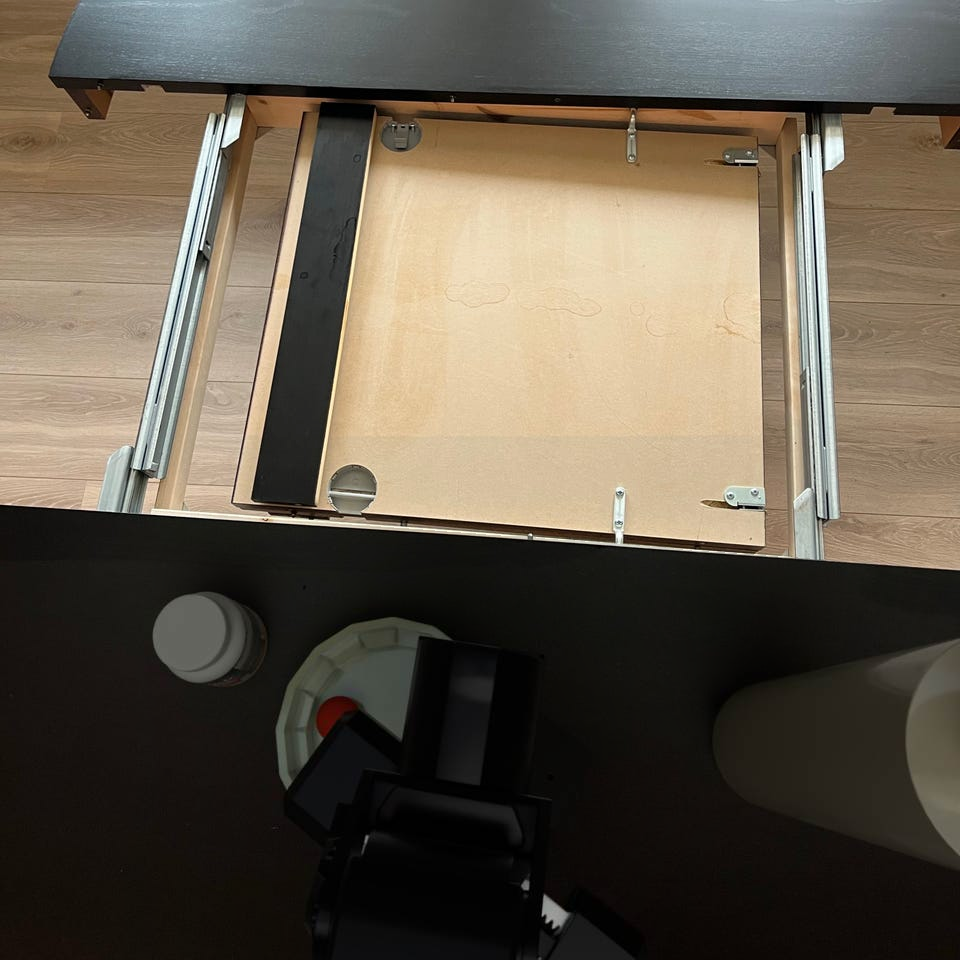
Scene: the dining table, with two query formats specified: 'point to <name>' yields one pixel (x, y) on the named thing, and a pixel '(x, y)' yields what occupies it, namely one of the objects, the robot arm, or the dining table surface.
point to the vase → (855, 749)
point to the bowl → (350, 684)
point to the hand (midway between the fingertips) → (469, 855)
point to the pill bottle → (210, 639)
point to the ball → (332, 712)
